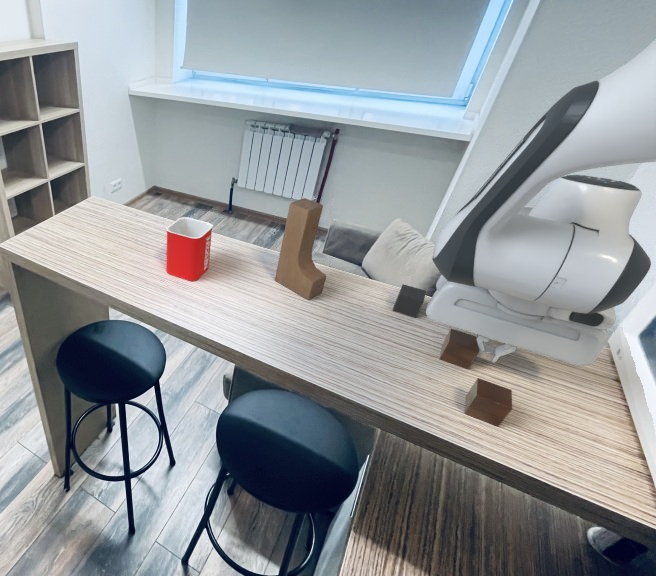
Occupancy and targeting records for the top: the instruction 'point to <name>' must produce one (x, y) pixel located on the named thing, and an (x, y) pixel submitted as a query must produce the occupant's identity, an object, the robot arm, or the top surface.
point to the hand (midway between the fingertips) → (484, 357)
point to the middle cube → (459, 348)
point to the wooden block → (300, 250)
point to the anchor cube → (409, 300)
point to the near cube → (488, 402)
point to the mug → (188, 248)
